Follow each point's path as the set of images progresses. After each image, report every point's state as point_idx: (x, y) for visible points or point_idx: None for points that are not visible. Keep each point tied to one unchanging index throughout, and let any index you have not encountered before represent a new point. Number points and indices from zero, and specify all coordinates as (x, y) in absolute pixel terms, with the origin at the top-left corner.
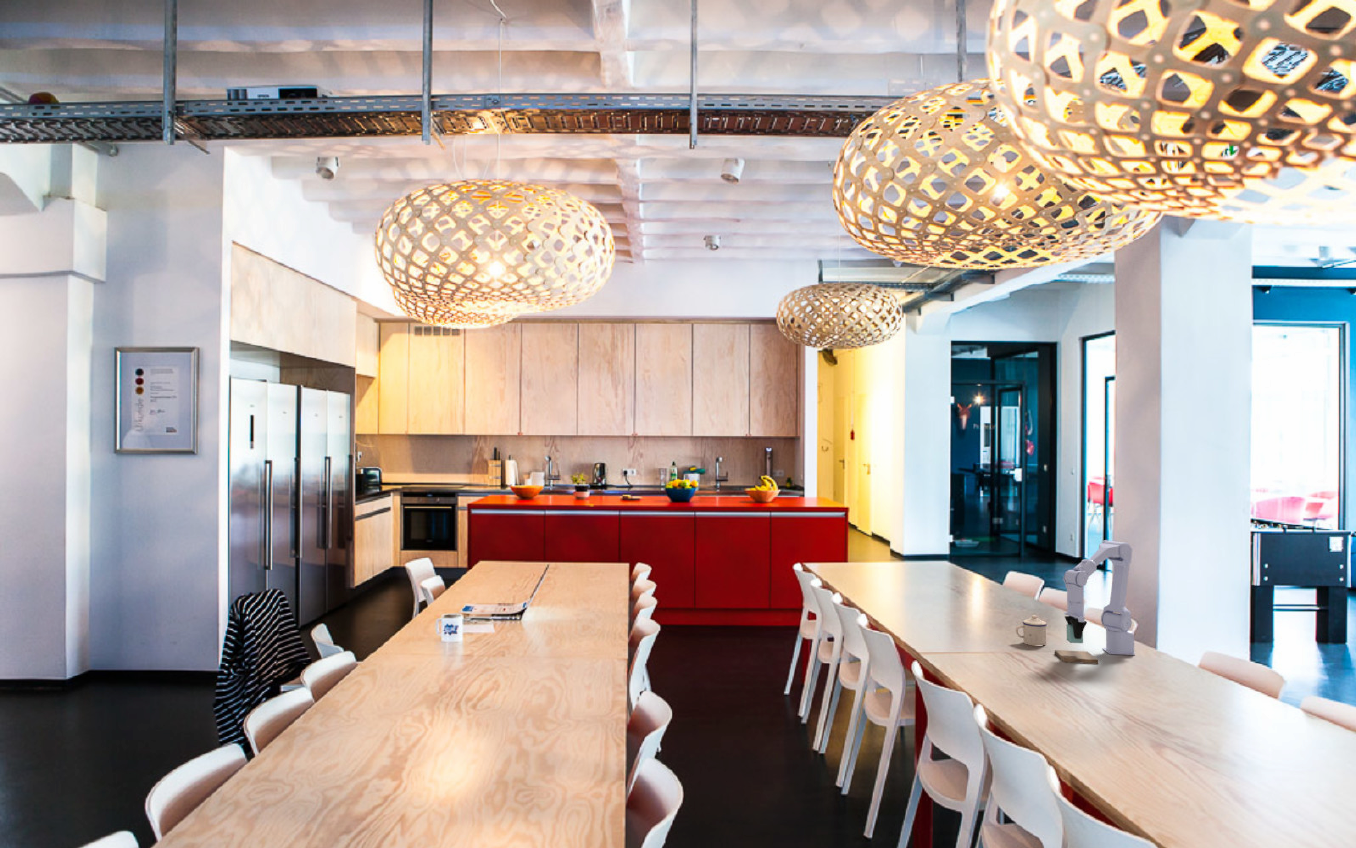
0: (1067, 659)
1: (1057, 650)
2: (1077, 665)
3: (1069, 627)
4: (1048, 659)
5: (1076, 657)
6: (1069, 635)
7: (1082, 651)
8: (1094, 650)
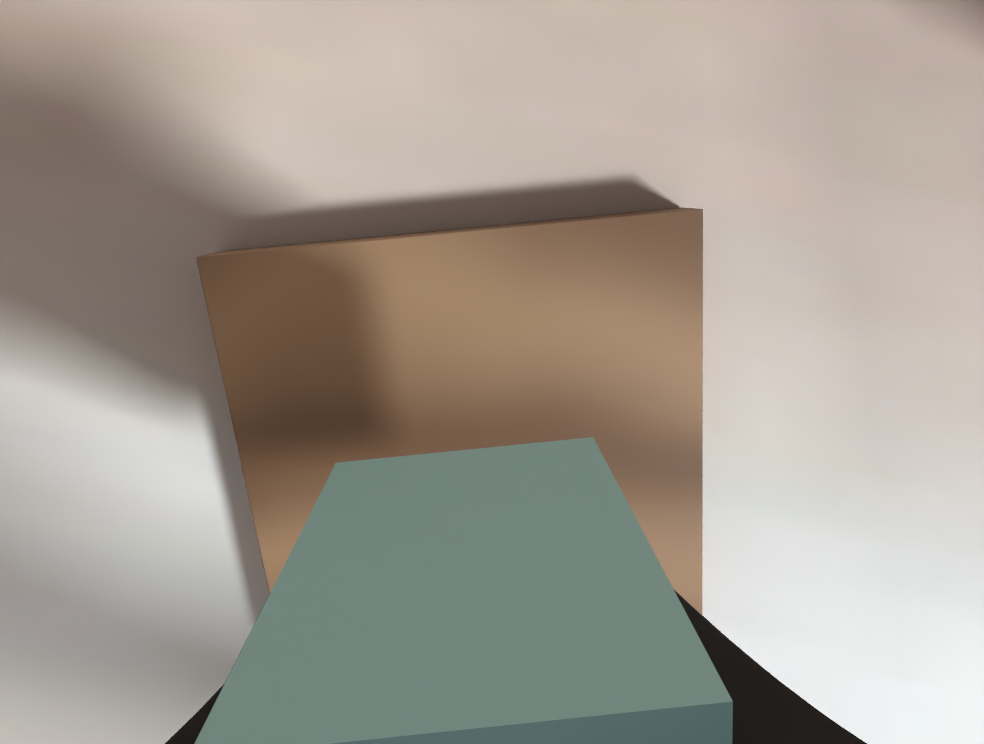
0: (212, 303)
1: (682, 248)
2: (119, 397)
3: (305, 720)
4: (314, 37)
5: (310, 444)
6: (377, 533)
7: (689, 580)
8: (940, 712)
